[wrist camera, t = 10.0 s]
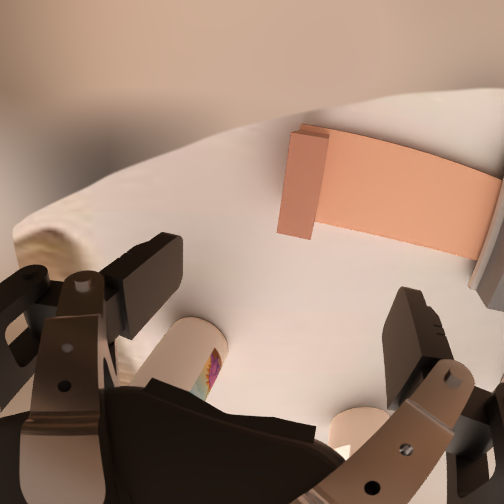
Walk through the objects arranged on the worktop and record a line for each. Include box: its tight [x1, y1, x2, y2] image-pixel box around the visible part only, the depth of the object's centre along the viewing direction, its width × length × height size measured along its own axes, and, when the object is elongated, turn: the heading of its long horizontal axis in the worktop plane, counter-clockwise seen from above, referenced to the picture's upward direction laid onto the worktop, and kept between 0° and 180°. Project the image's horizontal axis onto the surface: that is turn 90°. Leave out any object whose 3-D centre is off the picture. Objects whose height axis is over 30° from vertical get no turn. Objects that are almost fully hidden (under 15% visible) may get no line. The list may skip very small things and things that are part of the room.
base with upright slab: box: [328, 407, 390, 460], centre depth 31 cm, size 9×9×12 cm
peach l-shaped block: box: [277, 124, 503, 261], centre depth 21 cm, size 20×8×6 cm, turn 84°
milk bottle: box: [128, 317, 228, 401], centre depth 28 cm, size 8×8×20 cm
